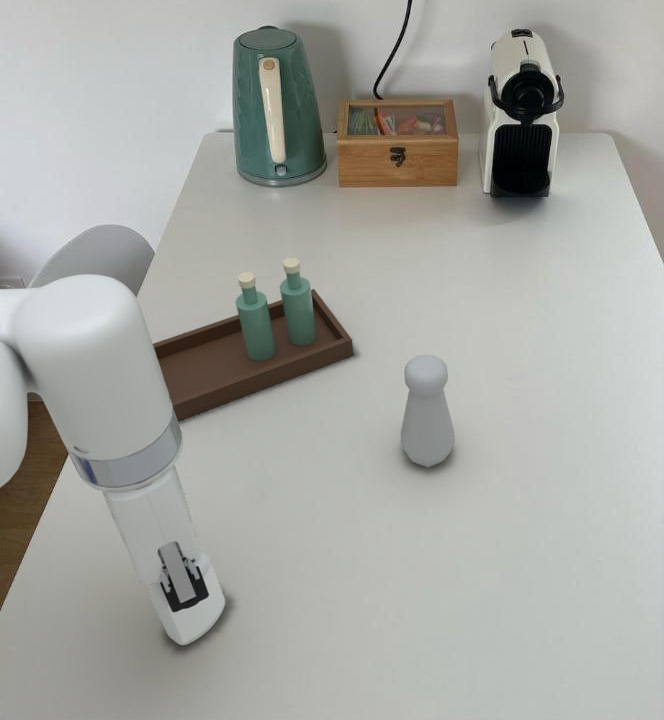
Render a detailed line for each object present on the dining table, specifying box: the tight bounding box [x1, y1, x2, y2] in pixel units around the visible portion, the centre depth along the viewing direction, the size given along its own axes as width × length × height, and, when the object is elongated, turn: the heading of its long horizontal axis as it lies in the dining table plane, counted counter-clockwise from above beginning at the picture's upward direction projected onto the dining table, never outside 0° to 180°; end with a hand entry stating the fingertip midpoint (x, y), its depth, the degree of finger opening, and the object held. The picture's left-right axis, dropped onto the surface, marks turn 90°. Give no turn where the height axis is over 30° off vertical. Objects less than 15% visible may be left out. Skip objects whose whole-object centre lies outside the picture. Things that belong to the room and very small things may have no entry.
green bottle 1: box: [235, 271, 276, 361], centre depth 96 cm, size 4×4×11 cm
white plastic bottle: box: [148, 549, 226, 646], centre depth 70 cm, size 4×6×12 cm
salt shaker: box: [400, 354, 456, 468], centre depth 83 cm, size 6×6×13 cm
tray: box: [153, 288, 355, 422], centre depth 99 cm, size 24×12×3 cm, turn 118°
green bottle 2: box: [279, 257, 317, 346], centre depth 98 cm, size 4×4×11 cm
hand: (181, 579), depth 69 cm, fingers closed on white plastic bottle, 4 cm apart
